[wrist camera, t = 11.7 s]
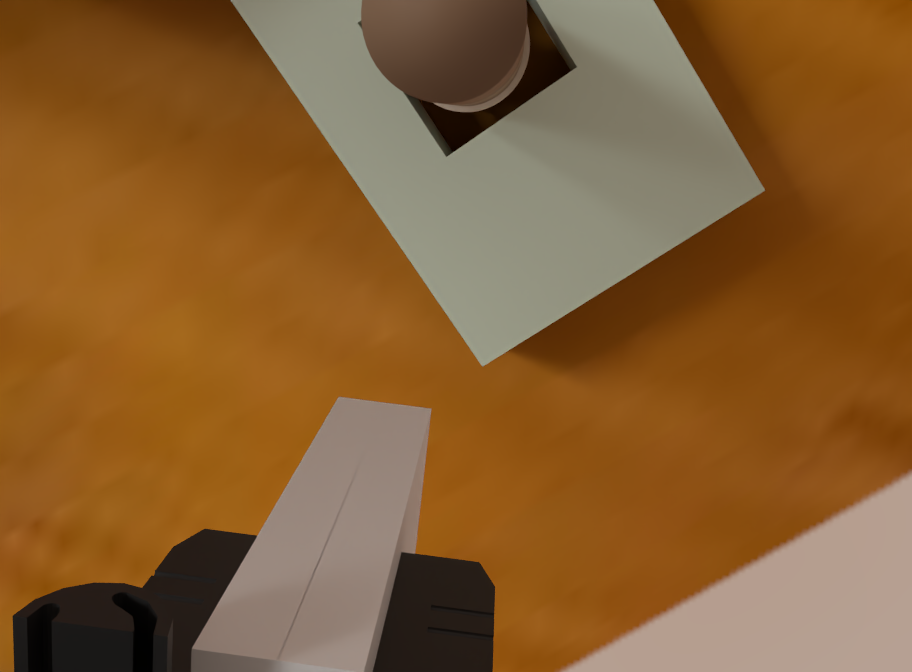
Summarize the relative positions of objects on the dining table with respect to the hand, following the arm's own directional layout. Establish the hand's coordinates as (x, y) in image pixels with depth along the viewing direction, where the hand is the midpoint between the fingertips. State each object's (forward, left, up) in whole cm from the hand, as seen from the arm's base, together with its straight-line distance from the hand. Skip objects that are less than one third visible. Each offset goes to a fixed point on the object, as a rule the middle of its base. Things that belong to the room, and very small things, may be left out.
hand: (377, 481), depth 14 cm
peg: (-6, +5, -22) cm, 23 cm away
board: (-6, +5, -22) cm, 23 cm away
